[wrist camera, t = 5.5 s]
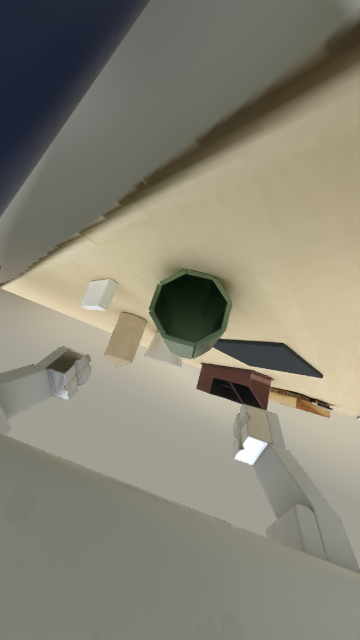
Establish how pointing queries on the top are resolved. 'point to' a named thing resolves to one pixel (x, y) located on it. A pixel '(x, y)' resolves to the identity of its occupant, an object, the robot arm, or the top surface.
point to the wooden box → (299, 402)
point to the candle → (125, 339)
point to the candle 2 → (162, 352)
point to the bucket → (190, 312)
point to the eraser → (98, 295)
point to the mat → (266, 356)
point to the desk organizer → (235, 385)
